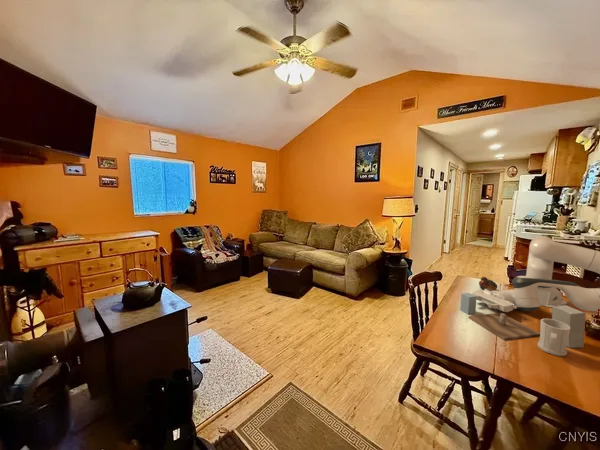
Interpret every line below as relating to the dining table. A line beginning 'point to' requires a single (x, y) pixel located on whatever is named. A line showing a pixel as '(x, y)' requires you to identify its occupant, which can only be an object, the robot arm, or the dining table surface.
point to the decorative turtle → (487, 284)
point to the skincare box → (571, 324)
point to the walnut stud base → (504, 326)
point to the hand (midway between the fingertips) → (480, 302)
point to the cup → (553, 337)
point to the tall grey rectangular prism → (468, 303)
